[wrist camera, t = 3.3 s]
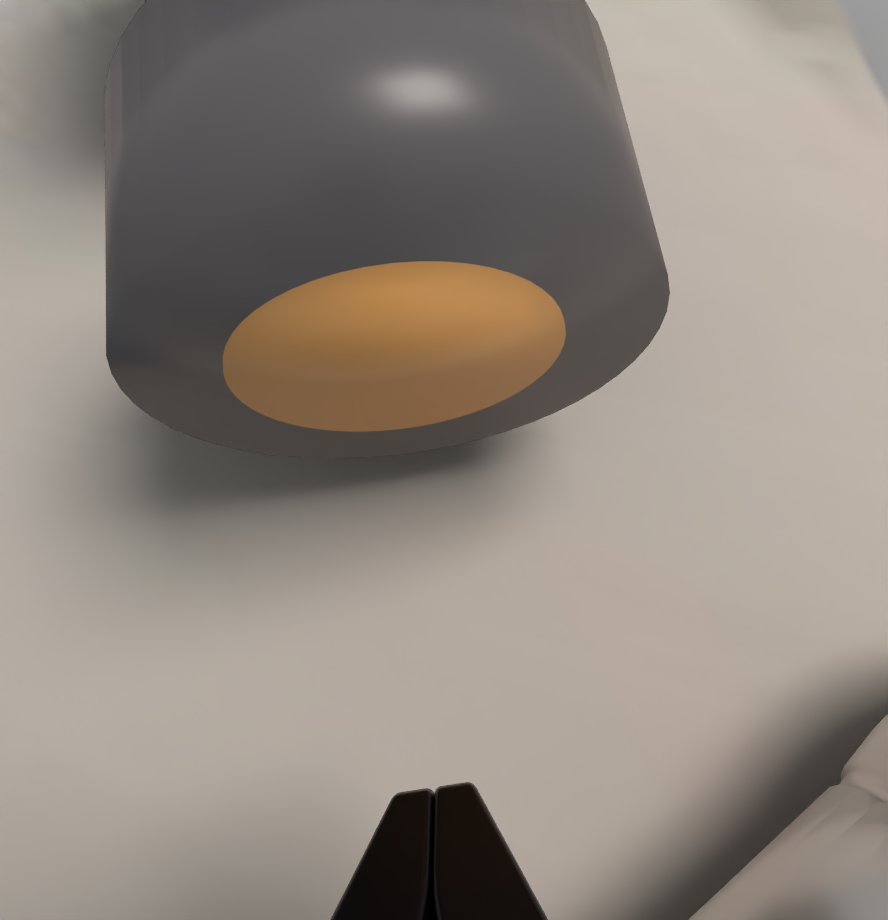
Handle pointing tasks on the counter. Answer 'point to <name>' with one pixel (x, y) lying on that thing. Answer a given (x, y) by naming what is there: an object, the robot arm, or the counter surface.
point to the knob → (370, 221)
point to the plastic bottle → (822, 853)
